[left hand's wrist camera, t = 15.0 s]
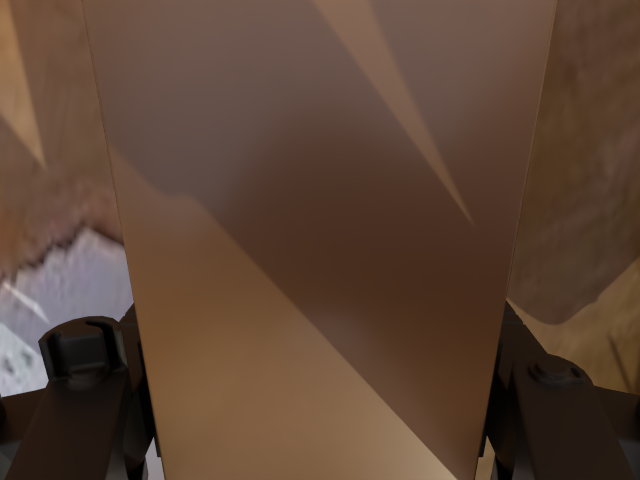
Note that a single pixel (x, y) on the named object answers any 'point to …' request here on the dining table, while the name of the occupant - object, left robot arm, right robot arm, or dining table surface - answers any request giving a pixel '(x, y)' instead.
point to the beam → (319, 223)
